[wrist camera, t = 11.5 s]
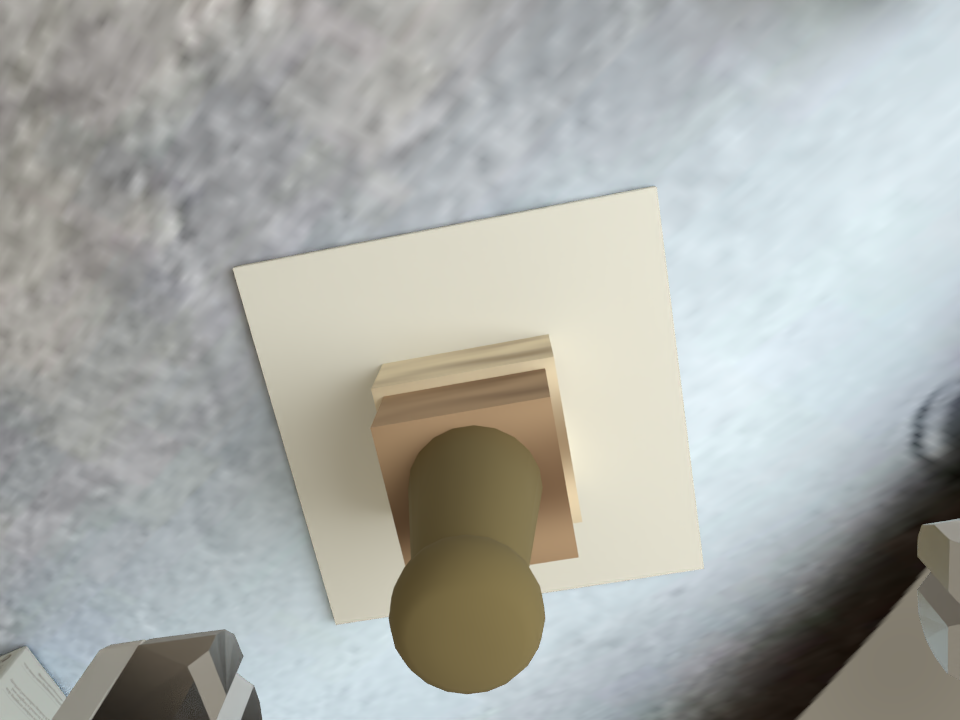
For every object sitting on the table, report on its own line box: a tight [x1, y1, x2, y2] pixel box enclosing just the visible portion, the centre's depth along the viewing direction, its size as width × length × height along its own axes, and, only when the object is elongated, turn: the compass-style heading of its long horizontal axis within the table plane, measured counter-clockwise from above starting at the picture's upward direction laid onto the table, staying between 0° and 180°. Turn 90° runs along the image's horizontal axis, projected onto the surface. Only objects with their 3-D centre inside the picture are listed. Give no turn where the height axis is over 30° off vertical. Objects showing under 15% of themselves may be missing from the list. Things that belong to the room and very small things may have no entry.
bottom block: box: [371, 334, 582, 523], centre depth 41 cm, size 9×9×4 cm
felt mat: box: [233, 186, 704, 625], centre depth 43 cm, size 22×22×1 cm
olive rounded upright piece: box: [389, 425, 545, 694], centre depth 30 cm, size 6×6×11 cm
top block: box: [370, 368, 579, 566], centre depth 37 cm, size 8×8×4 cm
